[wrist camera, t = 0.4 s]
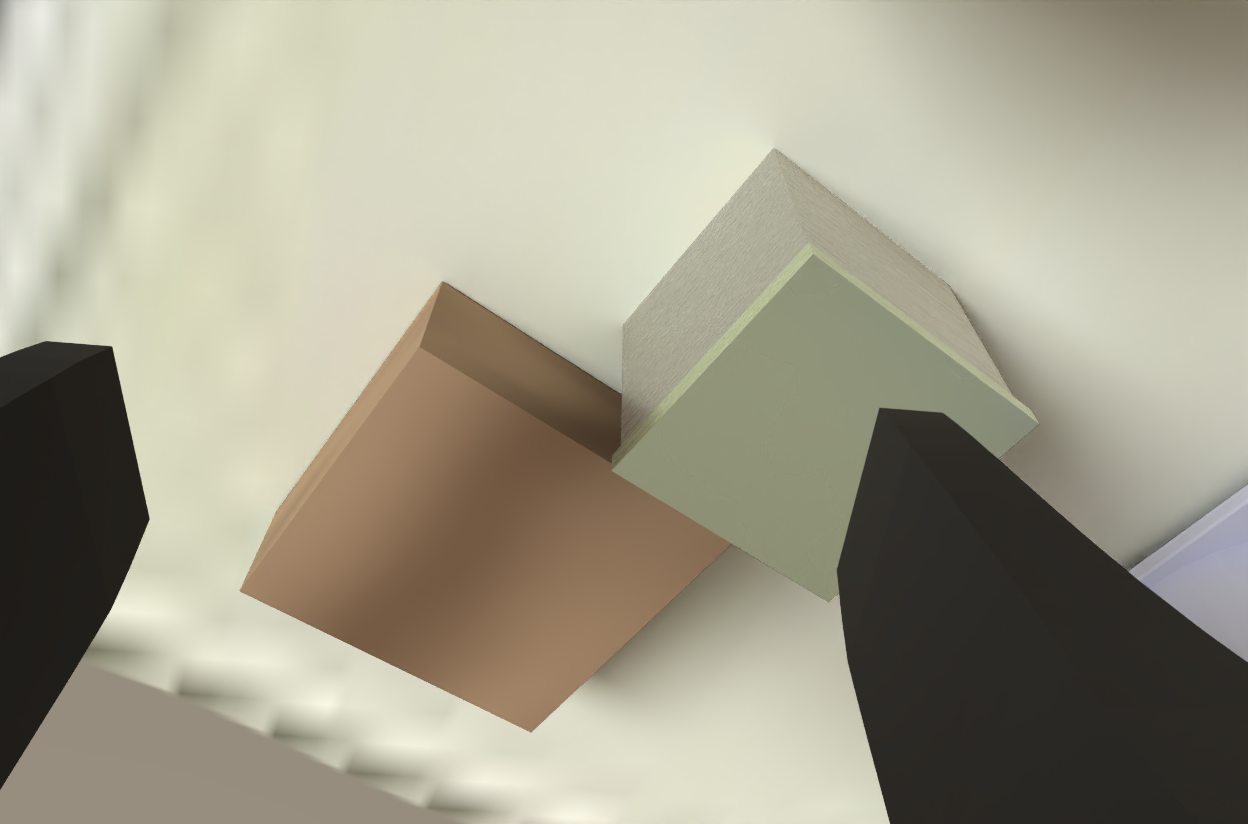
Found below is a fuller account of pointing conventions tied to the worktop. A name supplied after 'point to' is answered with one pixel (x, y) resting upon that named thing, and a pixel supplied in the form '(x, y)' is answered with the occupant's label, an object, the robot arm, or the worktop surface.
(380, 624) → the walnut block
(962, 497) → the robot arm
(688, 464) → the tea tin
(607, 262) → the worktop surface
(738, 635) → the worktop surface
